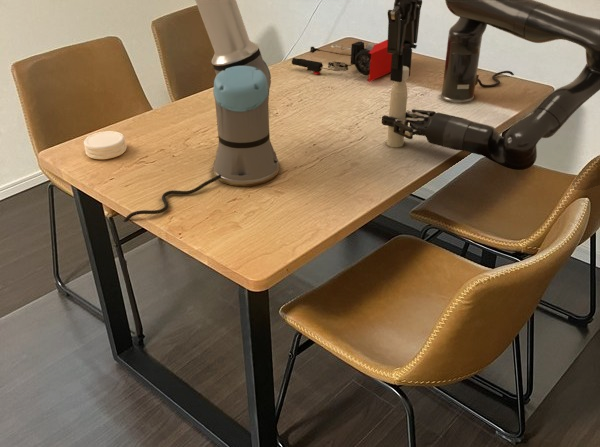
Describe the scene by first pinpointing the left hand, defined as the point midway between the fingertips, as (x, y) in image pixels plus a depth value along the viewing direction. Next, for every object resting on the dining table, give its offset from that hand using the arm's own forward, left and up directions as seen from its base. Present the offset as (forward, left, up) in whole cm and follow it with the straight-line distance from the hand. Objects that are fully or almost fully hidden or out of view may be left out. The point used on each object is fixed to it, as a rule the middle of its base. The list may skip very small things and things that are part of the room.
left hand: (400, 77), depth 148 cm
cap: (0, 0, +2) cm, 2 cm away
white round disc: (-57, +45, -17) cm, 75 cm away
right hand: (-1, +3, -10) cm, 11 cm away
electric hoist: (+34, +51, -17) cm, 64 cm away
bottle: (0, 0, -17) cm, 17 cm away
